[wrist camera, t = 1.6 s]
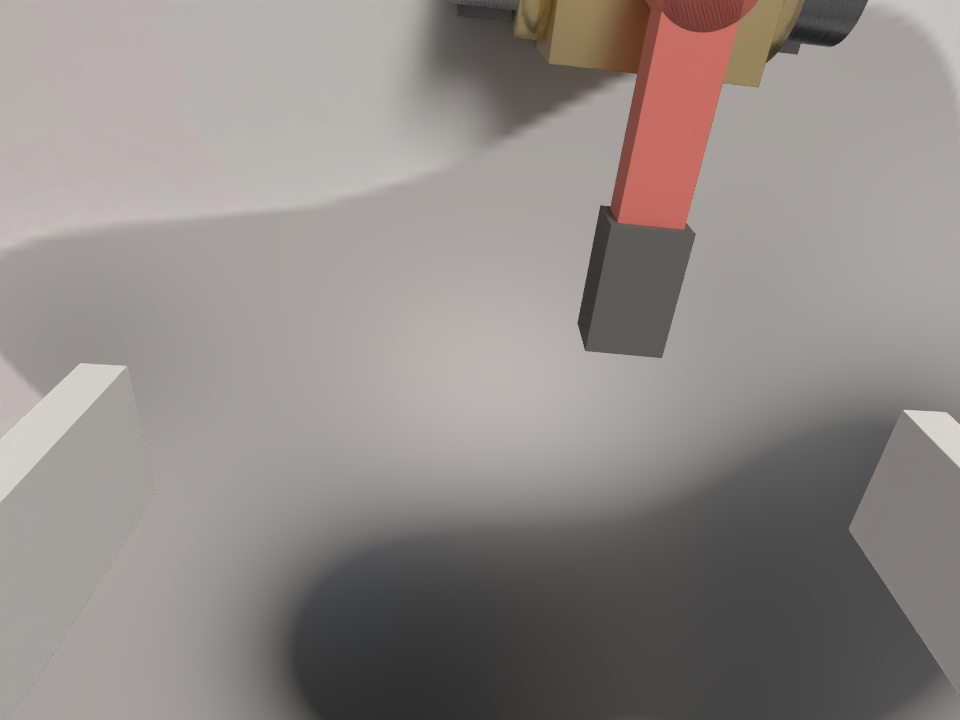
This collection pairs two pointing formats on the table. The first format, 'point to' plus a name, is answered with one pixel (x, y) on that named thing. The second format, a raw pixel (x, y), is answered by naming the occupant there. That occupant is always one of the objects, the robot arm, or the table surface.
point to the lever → (657, 177)
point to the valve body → (623, 22)
